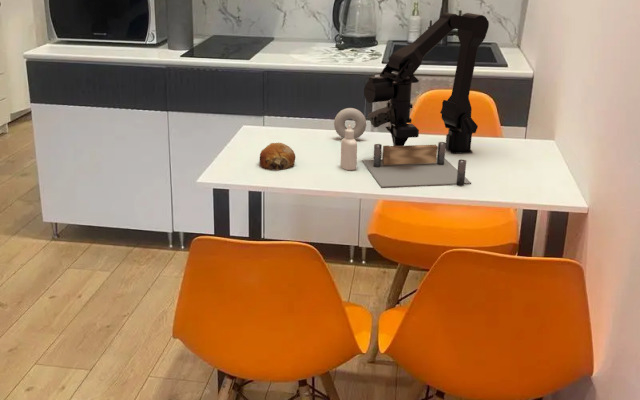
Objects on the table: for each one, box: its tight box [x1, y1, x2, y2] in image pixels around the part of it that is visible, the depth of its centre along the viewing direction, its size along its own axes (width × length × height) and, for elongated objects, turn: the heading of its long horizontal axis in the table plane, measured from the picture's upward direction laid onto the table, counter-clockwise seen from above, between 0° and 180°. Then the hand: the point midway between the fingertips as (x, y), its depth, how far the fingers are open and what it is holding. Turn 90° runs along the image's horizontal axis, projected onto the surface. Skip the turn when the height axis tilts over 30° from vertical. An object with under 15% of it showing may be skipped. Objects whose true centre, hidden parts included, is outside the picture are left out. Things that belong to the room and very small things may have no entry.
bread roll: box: [259, 142, 296, 171], centre depth 198 cm, size 10×10×8 cm
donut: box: [333, 107, 367, 140], centre depth 221 cm, size 10×4×10 cm, turn 84°
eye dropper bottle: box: [340, 124, 358, 171], centre depth 195 cm, size 4×6×12 cm
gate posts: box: [373, 141, 467, 187], centre depth 190 cm, size 20×18×6 cm
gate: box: [382, 144, 438, 165], centre depth 197 cm, size 15×2×5 cm, turn 100°
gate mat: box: [361, 158, 472, 189], centre depth 194 cm, size 24×22×1 cm
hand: (397, 153), depth 203 cm, fingers closed
